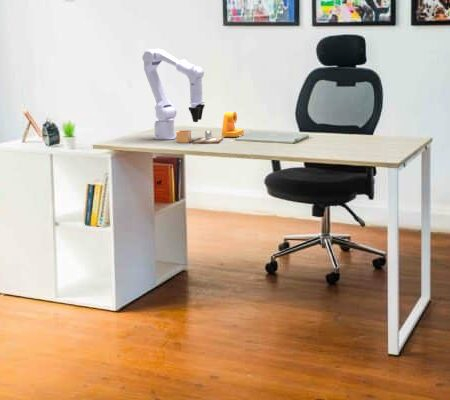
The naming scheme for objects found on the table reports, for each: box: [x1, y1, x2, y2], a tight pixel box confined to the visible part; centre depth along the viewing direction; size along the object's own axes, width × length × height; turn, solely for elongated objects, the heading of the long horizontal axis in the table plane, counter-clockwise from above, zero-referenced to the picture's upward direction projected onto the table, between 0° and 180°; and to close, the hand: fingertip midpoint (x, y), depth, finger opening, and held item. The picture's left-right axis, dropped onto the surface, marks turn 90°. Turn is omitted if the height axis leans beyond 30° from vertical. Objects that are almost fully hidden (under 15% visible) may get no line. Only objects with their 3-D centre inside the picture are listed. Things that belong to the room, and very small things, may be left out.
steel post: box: [204, 130, 212, 140], centre depth 449 cm, size 3×3×5 cm
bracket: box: [221, 111, 245, 138], centre depth 462 cm, size 11×7×12 cm, turn 154°
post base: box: [193, 136, 224, 145], centre depth 449 cm, size 12×12×1 cm
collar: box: [175, 129, 192, 144], centre depth 451 cm, size 6×6×5 cm
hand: (197, 120), depth 452 cm, fingers open, 7 cm apart
